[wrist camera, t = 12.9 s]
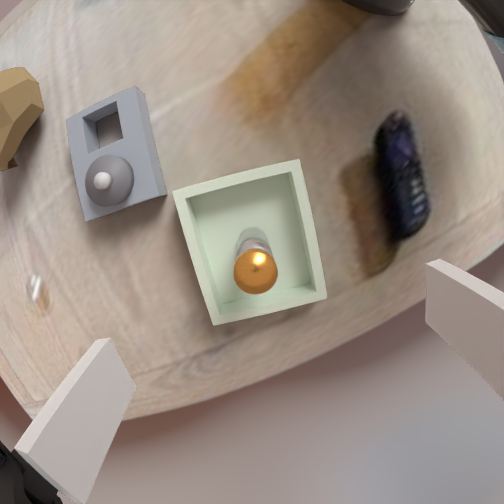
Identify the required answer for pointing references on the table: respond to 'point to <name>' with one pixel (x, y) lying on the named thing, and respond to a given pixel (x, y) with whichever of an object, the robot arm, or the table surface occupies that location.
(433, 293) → the robot arm
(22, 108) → the low-poly potato
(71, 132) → the block
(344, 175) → the table surface
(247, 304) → the tray
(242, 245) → the lock pin
